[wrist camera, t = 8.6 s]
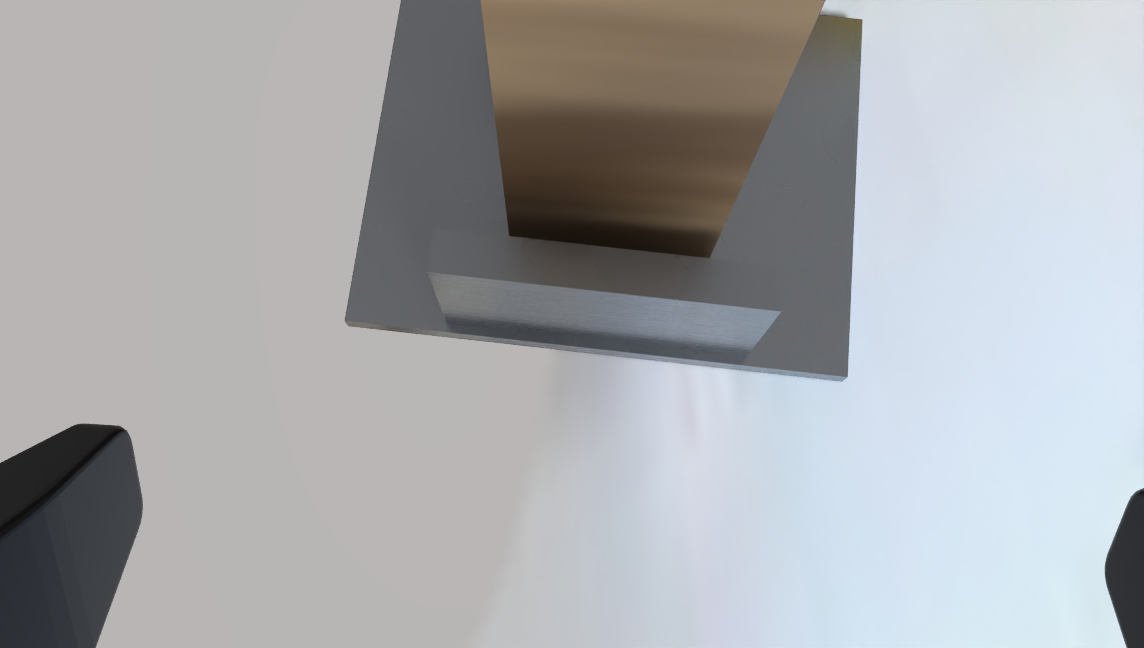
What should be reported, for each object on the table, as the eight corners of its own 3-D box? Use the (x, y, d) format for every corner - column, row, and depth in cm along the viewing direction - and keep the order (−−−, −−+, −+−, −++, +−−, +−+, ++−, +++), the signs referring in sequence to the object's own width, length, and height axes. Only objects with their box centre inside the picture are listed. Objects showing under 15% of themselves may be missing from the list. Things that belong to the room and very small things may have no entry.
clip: (842, 381, 21) (900, 336, 17) (348, 325, 21) (307, 269, 17) (856, 29, 23) (911, -74, 19) (408, -19, 23) (382, -130, 19)
